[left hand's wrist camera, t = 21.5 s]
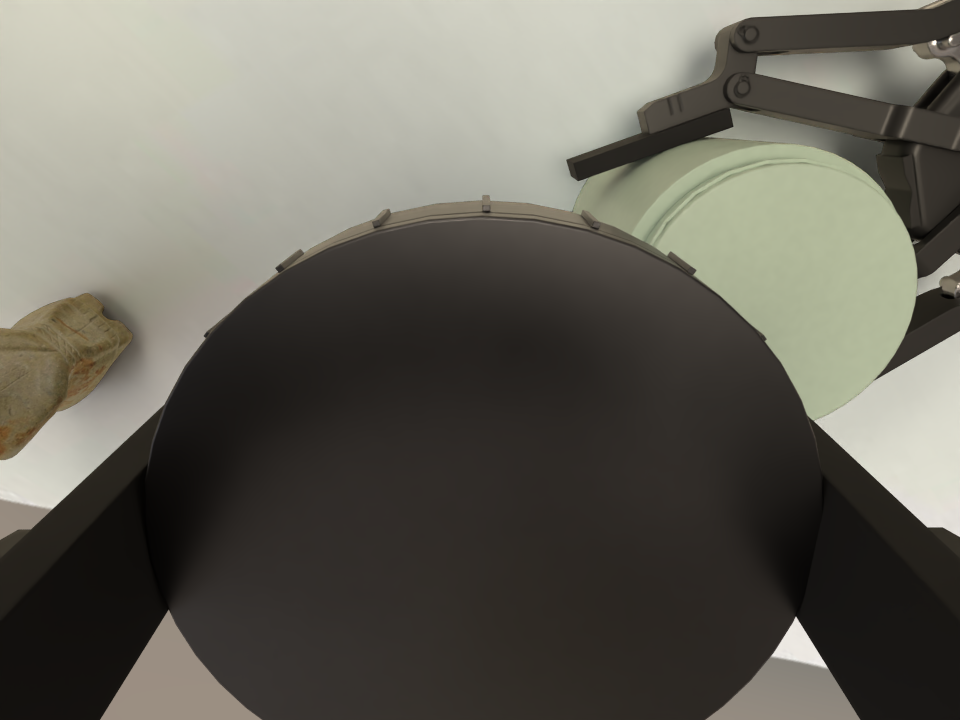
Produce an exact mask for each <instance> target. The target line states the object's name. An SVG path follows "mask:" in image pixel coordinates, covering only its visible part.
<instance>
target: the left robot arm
mask: <svg viewBox="0 0 960 720" xmlns="http://www.w3.org/2000/svg"><path fill="white" fill-rule="evenodd" d="M163 408H164V406H163V407H161V408H160V409H159V410H158V411H157V412H156V413H155V414H154V415H153V416H152V417H151V418H150V419H149V420H148V421H147V422H145V423H144V424H143V425H142V426H141V427H140V428H139V429H138V430H137V431H136V432H135V433H134V434H133V435H132V436H130V437H129V438H128V439H127V440H126V441H125V442H124V443H123V444H122V445H121V446H120V447H119V448H118V449H117V450H116V451H114V452H113V453H112V454H111V455H110V456H109V457H108V458H107V459H106V460H105V461H104V462H103V463H102V464H101V465H100V466H98V467H97V468H96V469H95V470H94V471H93V472H92V473H91V474H90V475H89V476H88V477H87V478H86V479H85V480H83V481H82V482H81V483H80V484H79V485H78V486H77V487H76V488H75V489H74V490H73V491H72V492H71V493H70V494H69V495H67V496H66V497H65V498H64V499H63V500H62V501H61V502H60V503H59V504H58V505H57V506H56V507H55V508H54V509H52V510H51V511H50V512H49V513H48V514H47V515H46V516H45V517H44V518H43V519H42V520H41V521H40V522H39V523H38V524H36V525H35V526H34V527H33V528H32V529H31V530H17V531H15V532H13V533H12V534H10V535H8V536H7V537H5V538H3V539H1V540H0V720H100V719H101V717H102V716H103V714H104V712H105V711H106V709H107V708H108V706H109V704H110V703H111V701H112V700H113V698H114V696H115V695H116V693H117V692H118V690H119V688H120V687H121V685H122V684H123V682H124V680H125V679H126V677H127V676H128V674H129V672H130V671H131V669H132V668H133V666H134V664H135V663H136V661H137V659H138V658H139V656H140V655H141V653H142V651H143V650H144V648H145V647H146V645H147V643H148V642H149V640H150V639H151V637H152V635H153V634H154V632H155V631H156V629H157V627H158V626H159V624H160V623H161V621H162V619H163V618H164V616H165V614H166V613H167V611H168V610H169V609H168V606H167V604H166V602H165V600H164V598H163V596H162V594H161V591H160V588H159V585H158V582H157V578H156V575H155V572H154V568H153V565H152V562H151V558H150V554H149V547H148V540H147V533H146V526H145V478H146V472H147V467H148V461H149V455H150V449H151V444H152V440H153V437H154V434H155V431H156V428H157V425H158V422H159V419H160V416H161V414H162V411H163ZM807 416H808V415H807ZM808 419H809V422H810V424H811V427H812V430H813V433H814V436H815V439H816V444H817V449H818V455H819V460H820V466H821V471H822V477H823V513H822V519H821V523H820V528H819V532H818V537H817V542H816V546H815V551H814V555H813V560H812V564H811V569H810V574H809V578H808V583H807V587H806V592H805V595H804V599H803V601H802V604H801V606H800V608H799V610H798V612H797V614H796V617H797V619H798V620H799V622H800V623H801V625H802V627H803V628H804V630H805V631H806V633H807V635H808V636H809V638H810V640H811V641H812V643H813V644H814V646H815V648H816V649H817V651H818V652H819V654H820V656H821V657H822V659H823V660H824V662H825V664H826V665H827V667H828V668H829V670H830V672H831V673H832V675H833V676H834V678H835V680H836V681H837V683H838V684H839V686H840V688H841V689H842V691H843V693H844V694H845V696H846V697H847V699H848V701H849V702H850V704H851V705H852V707H853V708H854V710H855V712H856V713H857V715H858V717H859V718H860V720H960V537H959V536H957V535H955V534H953V533H952V532H950V531H948V530H946V529H944V528H927V527H926V526H925V525H924V524H923V523H922V522H921V521H920V520H919V519H918V518H917V517H915V516H914V515H913V514H912V513H911V512H910V511H909V510H908V509H907V508H906V507H905V506H904V505H903V504H902V503H900V502H899V501H898V500H897V499H896V498H895V497H894V496H893V495H892V494H891V493H890V492H889V491H888V490H887V489H886V488H884V487H883V486H882V485H881V484H880V483H879V482H878V481H877V480H876V479H875V478H874V477H873V476H872V475H871V474H870V473H868V472H867V471H866V470H865V469H864V468H863V467H862V466H861V465H860V464H859V463H858V462H857V461H856V460H855V459H853V458H852V457H851V456H850V455H849V454H848V453H847V452H846V451H845V450H844V449H843V448H842V447H841V446H840V445H839V444H837V443H836V442H835V441H834V440H833V439H832V438H831V437H830V436H829V435H828V434H827V433H826V432H825V431H824V430H822V429H821V428H820V427H819V426H818V425H817V424H816V423H815V422H814V421H813V420H812V419H811V418H810V417H809V416H808Z"/></svg>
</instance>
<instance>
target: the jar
mask: <svg viewBox="0 0 960 720" xmlns="http://www.w3.org/2000/svg"><path fill="white" fill-rule="evenodd" d="M582 210H585V211H588V212H590V213H591V214H592V215H593V216H594V217H595V218H596V219H597V220H598V221H600V222H603V223H605V224H608V225H611V226H614V227H616V228H618V229H620V230H622V231H624V232H626V233H628V234H630V235H632V236H634V237H636V238H638V239H640V240H642V241H644V242H646V243H648V244H650V245H652V246H654V247H655V248H656V249H658V250H659V251H661V252H662V253H664V254H665V255H666V256H667V255H668V254H669V252H670V251H671V252H673V253H674V254H675V255H677V256H678V257H680V258H681V259H682V260H684V261H685V262H686V263H688V264H689V265H690V266H692V267H693V268H694V269H696V270H697V271H696V272H695V273H694V276H696V277H697V278H698V279H699V280H701V281H702V282H703V283H705V284H706V285H707V286H708V287H710V288H711V289H712V290H714V291H715V292H716V293H717V294H719V295H720V296H721V297H722V298H723V299H724V300H725V301H726V302H727V303H729V304H730V305H731V306H732V307H733V308H734V309H735V310H736V311H737V312H738V313H739V314H740V315H741V316H742V317H743V318H744V319H745V320H746V321H748V322H749V323H750V324H751V325H752V326H753V327H755V328H756V329H757V330H758V331H760V332H761V333H762V334H763V335H764V336H765V337H766V339H767V340H766V341H765V342H766V344H767V345H768V346H769V348H770V349H771V350H772V351H773V353H774V354H775V355H776V357H777V358H778V359H779V360H780V362H781V363H782V365H783V367H784V369H785V370H786V372H787V374H788V376H789V378H790V380H791V381H792V383H793V385H794V387H795V389H796V390H797V392H798V394H799V396H800V398H801V399H802V402H803V405H804V408H805V410H806V413H807V415H808V416H809V417H810V418H811V419H812V420H813V421H814V420H817V419H819V418H821V417H823V416H826V415H828V414H830V413H831V412H833V411H835V410H837V409H838V408H840V407H842V406H844V405H845V404H846V403H848V402H849V401H851V400H852V399H853V398H855V397H856V396H857V395H859V394H860V393H861V392H862V391H863V390H864V389H865V388H867V387H868V386H869V385H870V384H871V383H872V382H873V381H874V380H875V379H876V378H877V376H878V375H879V374H880V373H881V372H882V371H883V370H884V369H885V367H886V366H887V364H888V363H889V361H890V360H891V359H892V357H893V356H894V354H895V353H896V351H897V349H898V347H899V346H900V344H901V342H902V340H903V338H904V336H905V334H906V331H907V329H908V326H909V324H910V321H911V317H912V314H913V310H914V306H915V301H916V293H917V264H916V258H915V252H914V248H913V245H912V242H911V239H910V236H909V233H908V231H907V229H906V227H905V225H904V223H903V221H902V219H901V218H900V216H899V215H898V213H897V212H896V210H895V208H894V206H893V204H892V202H891V201H890V199H889V198H888V196H887V195H886V194H885V192H884V191H883V190H882V188H881V187H880V186H879V185H878V184H877V183H876V182H875V181H874V180H873V179H872V178H871V177H870V176H869V175H868V174H867V173H866V172H864V171H863V170H862V169H860V168H859V167H857V166H856V165H855V164H853V163H852V162H850V161H848V160H846V159H844V158H842V157H840V156H838V155H836V154H834V153H831V152H828V151H825V150H822V149H819V148H815V147H810V146H804V145H798V144H788V143H775V142H762V141H749V140H736V139H723V138H710V137H703V138H700V139H697V140H694V141H691V142H688V143H686V144H683V145H680V146H677V147H674V148H671V149H669V150H666V151H663V152H660V153H657V154H654V155H651V156H649V157H646V158H643V159H640V160H637V161H634V162H632V163H629V164H626V165H623V166H620V167H617V168H614V169H612V170H609V171H606V172H603V173H600V174H597V175H594V176H592V177H589V179H588V180H587V182H586V183H585V185H584V186H583V188H582V190H581V192H580V194H579V196H578V198H577V200H576V203H575V206H574V209H573V213H576V214H579V215H581V213H582Z"/></svg>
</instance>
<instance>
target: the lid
mask: <svg viewBox="0 0 960 720" xmlns="http://www.w3.org/2000/svg"><path fill="white" fill-rule="evenodd" d="M276 270H277V271H278V272H277V273H276V274H275V275H274V276H272V277H271V278H270V279H269V280H267V281H266V282H265V283H264V284H262V285H261V286H260V287H259V288H257V289H256V290H255V291H254V292H253V293H251V294H250V295H249V296H247V297H246V298H245V299H244V300H243V301H242V302H241V303H240V304H239V305H238V306H237V307H236V308H235V309H234V310H233V311H231V312H230V313H229V314H228V315H227V316H225V317H224V318H223V319H222V320H221V321H219V322H218V323H217V324H216V325H214V326H213V327H212V328H211V329H209V330H208V331H207V332H206V333H205V335H204V337H205V338H206V339H205V340H204V342H203V343H202V344H201V346H200V347H199V348H198V349H197V351H196V352H195V353H194V355H193V356H192V357H191V359H190V360H189V361H188V363H187V364H186V365H185V367H184V369H183V371H182V373H181V374H180V376H179V378H178V380H177V382H176V384H175V386H174V387H173V389H172V391H171V393H170V395H169V397H168V399H167V401H166V402H165V405H164V408H163V411H162V414H161V416H160V419H159V422H158V425H157V428H156V431H155V434H154V437H153V440H152V444H151V449H150V455H149V461H148V467H147V472H146V478H145V526H146V533H147V540H148V547H149V554H150V558H151V562H152V565H153V568H154V572H155V575H156V578H157V582H158V585H159V588H160V591H161V594H162V596H163V598H164V600H165V602H166V604H167V606H168V609H169V611H170V613H171V615H172V617H173V619H174V621H175V624H176V625H177V627H178V629H179V630H180V632H181V633H182V635H183V636H184V638H185V639H186V641H187V642H188V644H189V646H190V647H191V649H192V650H193V652H194V653H195V655H196V656H197V657H198V658H199V660H200V661H201V662H202V663H203V664H204V666H205V667H206V668H207V669H208V670H209V672H210V673H211V674H212V675H213V676H214V677H215V679H216V680H217V681H218V682H219V683H220V684H221V685H222V686H223V687H224V688H225V689H226V690H227V691H228V692H229V693H231V694H232V695H233V696H234V697H235V698H236V699H237V700H238V701H239V702H240V703H241V704H242V705H244V706H245V707H246V708H247V709H248V710H250V711H251V712H252V713H254V714H255V715H256V716H258V717H259V718H261V719H262V720H706V719H707V718H708V717H710V716H711V715H712V714H713V713H715V712H716V711H718V710H719V709H720V708H722V707H723V706H724V705H725V704H726V703H727V702H728V701H729V700H731V699H732V698H733V697H734V696H735V695H736V694H737V693H738V692H739V691H740V690H741V689H742V688H743V687H744V686H745V685H746V684H747V683H749V682H750V680H751V679H752V678H753V677H754V676H755V675H756V673H757V672H758V671H759V670H760V669H761V667H762V666H763V665H764V664H765V663H766V661H767V660H768V659H769V658H770V657H771V655H772V654H773V653H774V651H775V650H776V648H777V647H778V645H779V643H780V642H781V640H782V639H783V637H784V636H785V634H786V632H787V631H788V629H789V628H790V626H791V625H792V623H793V621H794V619H795V617H796V614H797V612H798V610H799V608H800V606H801V604H802V601H803V599H804V595H805V592H806V587H807V583H808V578H809V574H810V569H811V564H812V560H813V555H814V551H815V546H816V542H817V537H818V532H819V528H820V523H821V519H822V513H823V477H822V471H821V466H820V460H819V455H818V449H817V444H816V439H815V436H814V433H813V430H812V427H811V424H810V422H809V419H808V416H807V413H806V410H805V408H804V405H803V402H802V399H801V398H800V396H799V394H798V392H797V390H796V389H795V387H794V385H793V383H792V381H791V380H790V378H789V376H788V374H787V372H786V370H785V369H784V367H783V365H782V363H781V362H780V360H779V359H778V358H777V357H776V355H775V354H774V353H773V351H772V350H771V349H770V348H769V346H768V345H767V344H766V342H765V341H766V340H767V339H766V337H765V336H764V335H763V334H762V333H761V332H760V331H758V330H757V329H756V328H755V327H753V326H752V325H751V324H750V323H749V322H748V321H746V320H745V319H744V318H743V317H742V316H741V315H740V314H739V313H738V312H737V311H736V310H735V309H734V308H733V307H732V306H731V305H730V304H729V303H727V302H726V301H725V300H724V299H723V298H722V297H721V296H720V295H719V294H717V293H716V292H715V291H714V290H712V289H711V288H710V287H708V286H707V285H706V284H705V283H703V282H702V281H701V280H699V279H698V278H697V277H696V276H694V273H695V272H696V271H697V270H696V269H694V268H693V267H692V266H690V265H689V264H688V263H686V262H685V261H684V260H682V259H681V258H680V257H678V256H677V255H675V254H674V253H673V252H671V251H670V252H669V254H668V255H667V256H666V255H665V254H664V253H662V252H661V251H659V250H658V249H656V248H655V247H654V246H652V245H650V244H648V243H646V242H644V241H642V240H640V239H638V238H636V237H634V236H632V235H630V234H628V233H626V232H624V231H622V230H620V229H618V228H616V227H614V226H611V225H608V224H605V223H603V222H600V221H598V220H597V219H596V218H595V217H594V216H593V215H592V214H591V213H590V212H588V211H585V210H582V213H581V215H579V214H576V213H573V212H569V211H564V210H559V209H554V208H549V207H544V206H539V205H534V204H529V203H515V202H499V201H490V196H489V195H483V196H482V200H481V201H467V202H454V203H440V204H433V205H428V206H423V207H418V208H414V209H409V210H404V211H399V212H395V213H390V210H389V209H386V210H383V211H382V212H381V213H380V214H379V215H378V216H377V217H376V218H375V219H374V220H371V221H368V222H365V223H363V224H360V225H357V226H354V227H351V228H349V229H347V230H345V231H343V232H341V233H339V234H338V235H336V236H334V237H332V238H330V239H328V240H326V241H324V242H322V243H320V244H318V245H316V246H315V247H313V248H311V249H309V250H308V251H307V252H305V253H303V252H302V250H301V249H300V250H298V251H297V252H295V253H294V254H293V255H291V256H290V257H289V258H287V259H286V260H285V261H284V262H282V263H281V264H280V265H278V266H277V267H276Z"/></svg>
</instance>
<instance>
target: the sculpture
mask: <svg viewBox="0 0 960 720" xmlns="http://www.w3.org/2000/svg"><path fill="white" fill-rule="evenodd" d="M103 310H104V306H103V305H102V303H100V302H99V301H98V300H97V299H96V298H94V297H93V296H92V295H90V294H88V293H85V294H82V295H80V296H78V297H75V298H66V299H63V300H60V301H57V302H53V303H51V304H48V305H46V306H44V307H42V308H40V309H38V310H36V311H34V312H32V313H30V314H29V315H27V316H25V317H24V318H22V319H21V320H20V321H18V322H17V323H16V324H15V325H14V326H13V327H12V328H11V329H5V328H0V460H6V459H9V458H12V457H14V456H15V455H17V454H18V453H19V452H20V451H21V450H22V449H23V448H24V447H25V446H26V444H27V443H28V442H29V441H30V440H31V439H32V438H33V437H34V436H35V435H36V434H37V432H38V431H39V430H40V429H41V428H42V426H43V425H44V424H45V423H46V422H47V421H48V420H49V419H50V418H51V417H52V416H53V415H54V414H55V413H56V411H62V410H65V409H67V408H69V407H71V406H73V405H75V404H77V403H78V402H79V401H81V400H82V399H84V398H85V397H86V396H87V395H88V394H89V393H90V392H91V391H93V389H94V388H95V387H96V386H97V384H98V383H99V382H100V381H101V379H102V378H103V376H104V375H105V374H106V372H107V371H108V369H109V368H110V366H111V365H112V364H113V362H114V361H115V360H116V359H117V357H118V356H119V355H120V354H121V353H122V351H123V350H124V349H125V347H126V346H127V345H128V344H129V343H130V342H131V340H132V337H133V335H132V333H131V332H130V331H129V330H128V329H127V328H126V326H125V325H124V324H123V323H122V322H120V321H118V320H109V319H107V318H106V317H104V316H103V315H102V312H103Z"/></svg>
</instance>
